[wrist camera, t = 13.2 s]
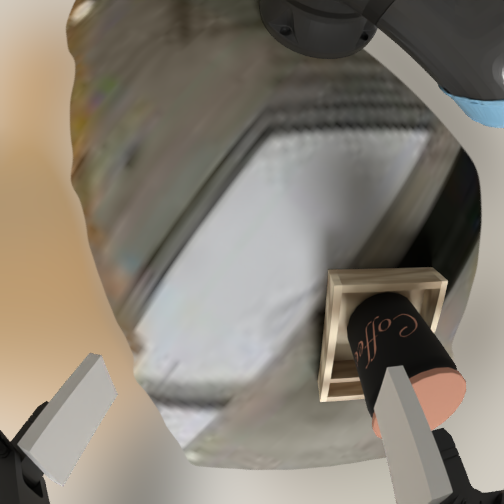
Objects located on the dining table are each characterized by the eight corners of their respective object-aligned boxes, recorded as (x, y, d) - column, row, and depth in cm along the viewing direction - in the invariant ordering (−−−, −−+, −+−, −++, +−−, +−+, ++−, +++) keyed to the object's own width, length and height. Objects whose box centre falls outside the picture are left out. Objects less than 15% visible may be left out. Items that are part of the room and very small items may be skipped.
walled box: (328, 269, 37) (334, 285, 33) (432, 267, 36) (447, 280, 31) (317, 380, 44) (320, 401, 39) (405, 372, 42) (413, 391, 37)
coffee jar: (394, 273, 36) (457, 352, 19) (421, 323, 38) (472, 404, 21) (331, 316, 39) (355, 415, 22) (364, 360, 41) (392, 452, 24)
